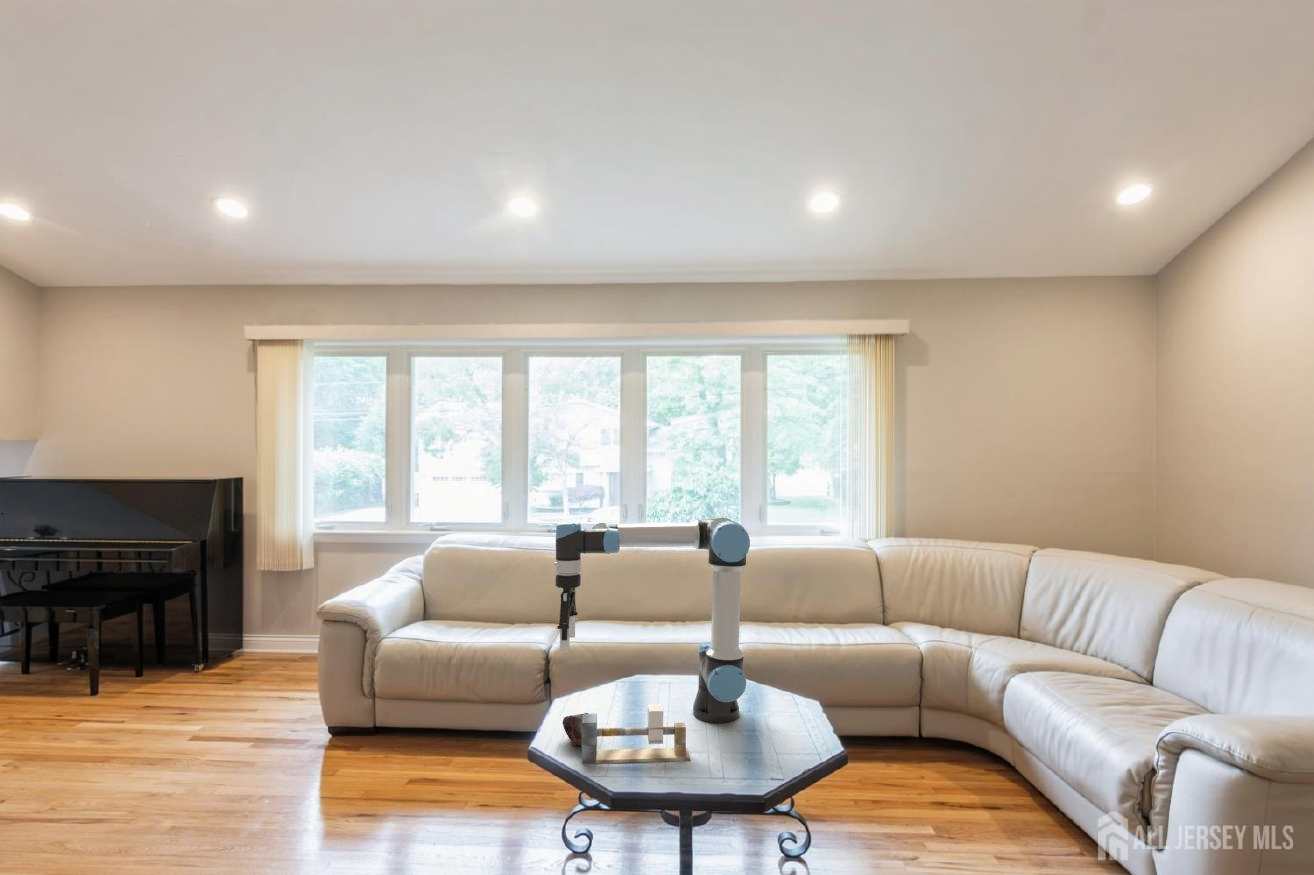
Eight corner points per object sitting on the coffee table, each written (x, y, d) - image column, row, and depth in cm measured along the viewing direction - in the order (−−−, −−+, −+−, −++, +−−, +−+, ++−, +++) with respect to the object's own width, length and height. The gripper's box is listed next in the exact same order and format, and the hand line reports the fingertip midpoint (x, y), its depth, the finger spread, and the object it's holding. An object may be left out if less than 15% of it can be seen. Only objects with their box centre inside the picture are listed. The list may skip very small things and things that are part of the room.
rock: (595, 738, 189) (562, 738, 188) (596, 708, 191) (563, 708, 190) (595, 749, 178) (560, 750, 177) (596, 717, 179) (561, 718, 178)
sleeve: (661, 735, 178) (661, 703, 178) (663, 743, 173) (663, 711, 173) (647, 736, 178) (647, 704, 178) (648, 744, 173) (648, 711, 173)
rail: (687, 750, 179) (687, 711, 179) (690, 760, 173) (690, 720, 173) (582, 753, 177) (583, 713, 177) (581, 763, 171) (581, 722, 171)
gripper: (561, 566, 202) (561, 632, 201) (549, 581, 177) (548, 656, 176) (584, 566, 202) (584, 632, 201) (575, 581, 177) (575, 656, 176)
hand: (567, 643), depth 188 cm, fingers open, 13 cm apart
